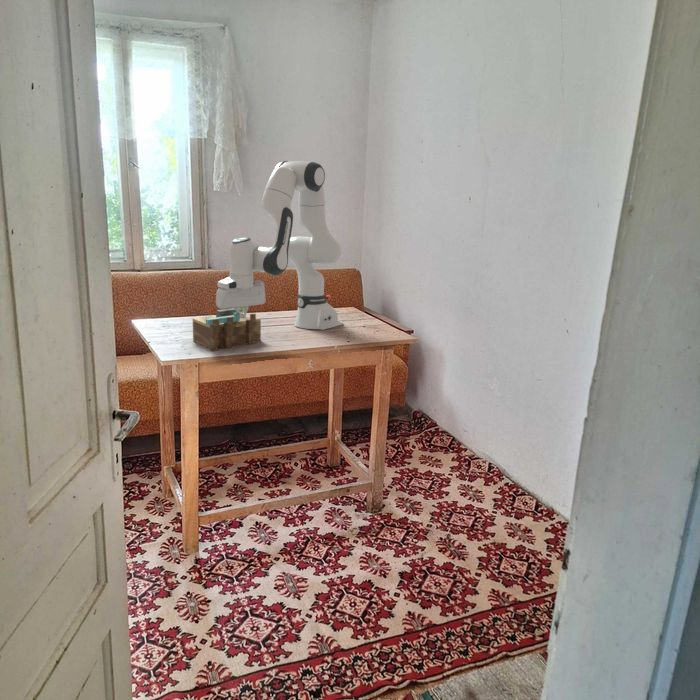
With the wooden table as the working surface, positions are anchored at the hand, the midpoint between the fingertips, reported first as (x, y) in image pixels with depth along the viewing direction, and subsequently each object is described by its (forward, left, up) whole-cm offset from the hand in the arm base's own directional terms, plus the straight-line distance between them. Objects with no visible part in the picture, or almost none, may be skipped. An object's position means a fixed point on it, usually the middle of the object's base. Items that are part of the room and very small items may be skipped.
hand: (241, 317), depth 228 cm
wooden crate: (+2, -7, -11) cm, 13 cm away
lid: (+1, -7, -4) cm, 8 cm away
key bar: (+8, 0, -1) cm, 8 cm away
